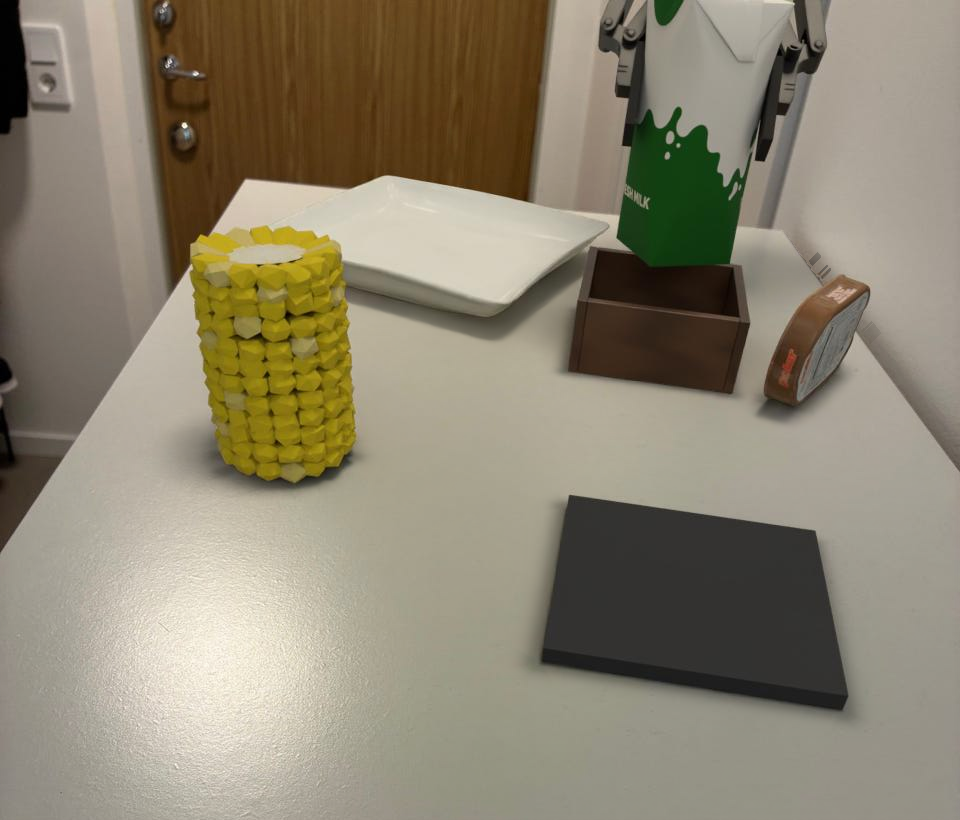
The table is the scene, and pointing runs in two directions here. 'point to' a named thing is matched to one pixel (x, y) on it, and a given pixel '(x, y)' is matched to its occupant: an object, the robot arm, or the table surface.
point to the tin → (816, 340)
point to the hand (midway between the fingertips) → (695, 142)
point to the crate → (660, 321)
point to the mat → (694, 602)
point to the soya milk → (697, 126)
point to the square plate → (444, 242)
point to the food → (275, 349)
